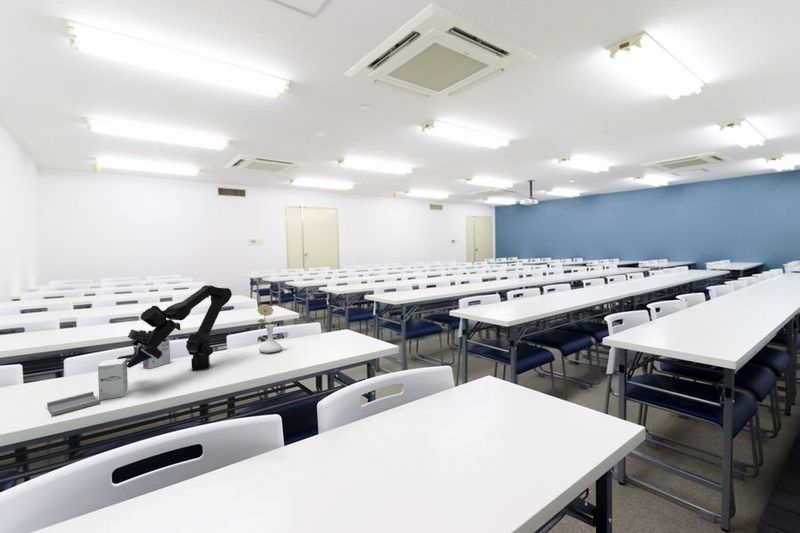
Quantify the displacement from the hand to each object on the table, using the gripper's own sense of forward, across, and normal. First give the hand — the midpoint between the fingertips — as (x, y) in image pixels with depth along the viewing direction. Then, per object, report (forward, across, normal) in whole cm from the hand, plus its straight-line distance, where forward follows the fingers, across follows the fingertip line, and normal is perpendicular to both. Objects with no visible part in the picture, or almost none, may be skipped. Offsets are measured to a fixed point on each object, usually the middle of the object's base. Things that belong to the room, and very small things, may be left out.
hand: (127, 367), depth 133 cm
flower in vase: (-37, -5, +50) cm, 62 cm away
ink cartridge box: (-6, -26, +19) cm, 33 cm away
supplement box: (+10, 0, +4) cm, 11 cm away
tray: (+18, 0, -4) cm, 18 cm away
